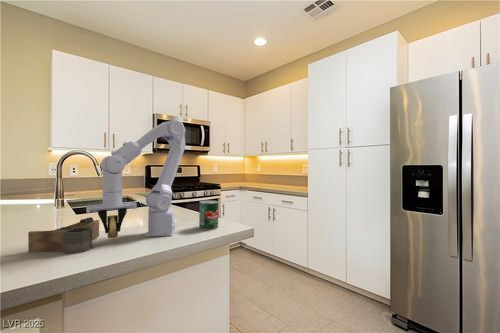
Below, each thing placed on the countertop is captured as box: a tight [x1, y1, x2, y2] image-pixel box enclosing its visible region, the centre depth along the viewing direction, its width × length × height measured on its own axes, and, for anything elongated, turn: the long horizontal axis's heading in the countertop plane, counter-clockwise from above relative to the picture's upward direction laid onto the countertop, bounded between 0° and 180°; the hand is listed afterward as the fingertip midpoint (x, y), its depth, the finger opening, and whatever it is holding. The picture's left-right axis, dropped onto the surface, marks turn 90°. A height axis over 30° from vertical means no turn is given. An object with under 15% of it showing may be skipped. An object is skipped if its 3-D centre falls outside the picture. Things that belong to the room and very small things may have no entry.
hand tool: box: [50, 217, 95, 231], centre depth 91 cm, size 19×4×5 cm, turn 170°
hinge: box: [27, 219, 100, 255], centre depth 78 cm, size 17×17×6 cm
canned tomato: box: [198, 199, 219, 231], centre depth 101 cm, size 8×8×11 cm
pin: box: [107, 214, 119, 239], centre depth 81 cm, size 3×3×7 cm
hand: (112, 231), depth 81 cm, fingers closed on pin, 3 cm apart
